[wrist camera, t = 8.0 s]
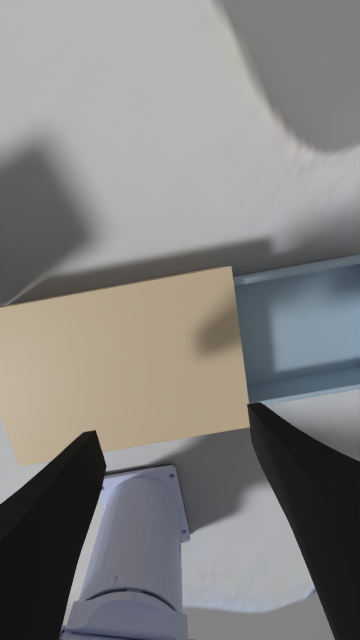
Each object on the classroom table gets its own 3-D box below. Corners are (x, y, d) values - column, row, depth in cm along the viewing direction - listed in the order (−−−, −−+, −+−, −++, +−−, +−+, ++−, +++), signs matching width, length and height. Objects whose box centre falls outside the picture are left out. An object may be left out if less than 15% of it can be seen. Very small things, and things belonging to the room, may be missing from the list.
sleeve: (237, 396, 22) (252, 426, 18) (49, 428, 22) (19, 466, 18) (219, 266, 20) (231, 266, 15) (7, 304, 20) (-39, 314, 16)
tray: (365, 367, 21) (398, 383, 18) (179, 399, 22) (180, 421, 18) (364, 253, 19) (401, 250, 16) (157, 290, 19) (154, 294, 16)
